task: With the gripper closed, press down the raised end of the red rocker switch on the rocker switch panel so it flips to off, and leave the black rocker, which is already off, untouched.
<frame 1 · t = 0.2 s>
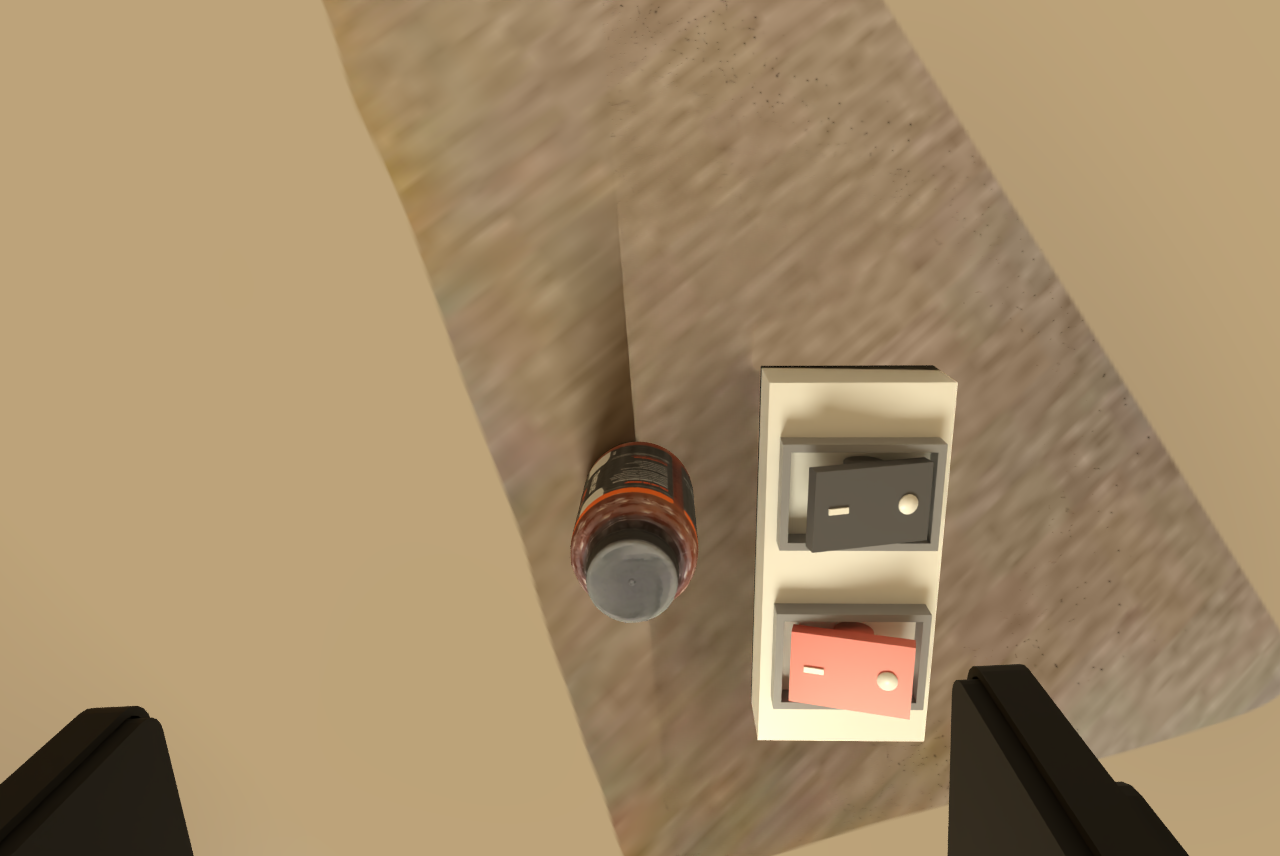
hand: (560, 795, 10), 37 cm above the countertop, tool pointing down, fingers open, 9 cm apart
supplement bottle: (638, 488, 48), on the countertop
black rocker: (863, 500, 42), point 5 cm above the countertop, hinge at -15.0°
red rocker: (851, 665, 44), point 5 cm above the countertop, hinge at 15.0°
rocker switch panel: (836, 541, 48), on the countertop
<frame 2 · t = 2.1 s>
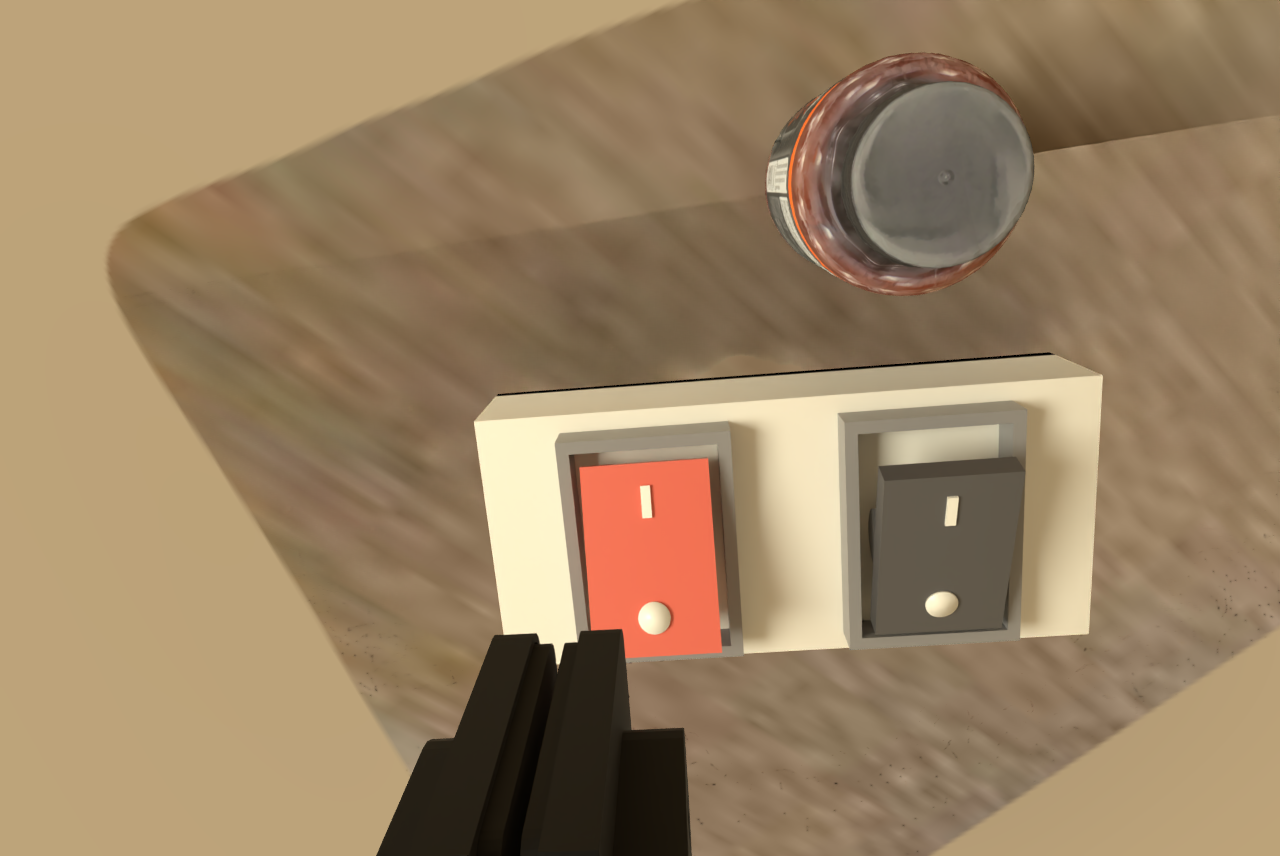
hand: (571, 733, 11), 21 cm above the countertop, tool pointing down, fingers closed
supplement bottle: (847, 181, 30), on the countertop
black rocker: (936, 538, 27), point 5 cm above the countertop, hinge at -15.0°
red rocker: (651, 554, 28), point 5 cm above the countertop, hinge at 15.0°
rocker switch panel: (774, 489, 33), on the countertop
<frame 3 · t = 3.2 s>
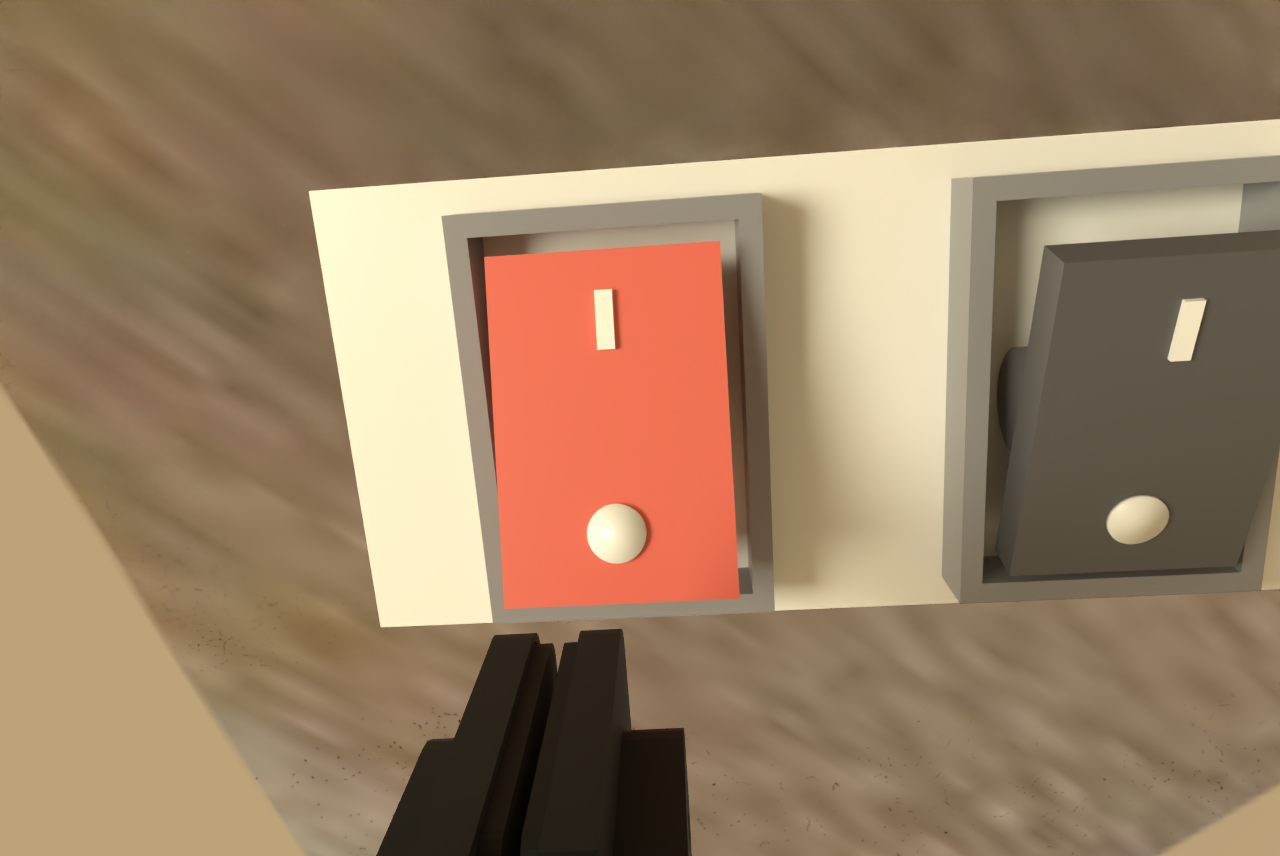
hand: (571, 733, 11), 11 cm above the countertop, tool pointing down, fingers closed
black rocker: (1130, 400, 15), point 5 cm above the countertop, hinge at -15.0°
red rocker: (616, 426, 16), point 5 cm above the countertop, hinge at 15.0°
rocker switch panel: (821, 356, 21), on the countertop
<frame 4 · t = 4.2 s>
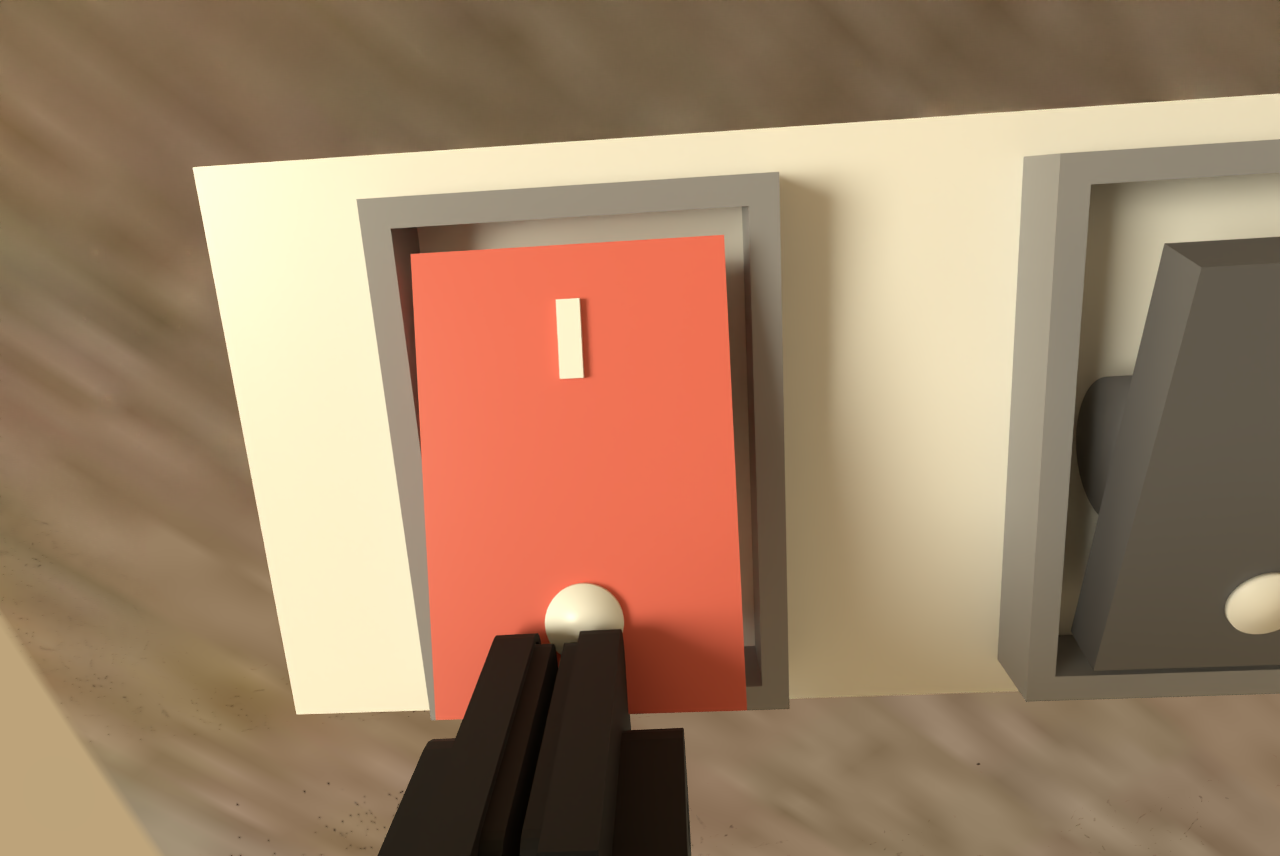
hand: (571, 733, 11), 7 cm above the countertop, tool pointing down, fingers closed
black rocker: (1258, 447, 12), point 5 cm above the countertop, hinge at -15.0°
red rocker: (586, 475, 12), point 5 cm above the countertop, hinge at 14.5°, touching gripper
rocker switch panel: (842, 377, 17), on the countertop
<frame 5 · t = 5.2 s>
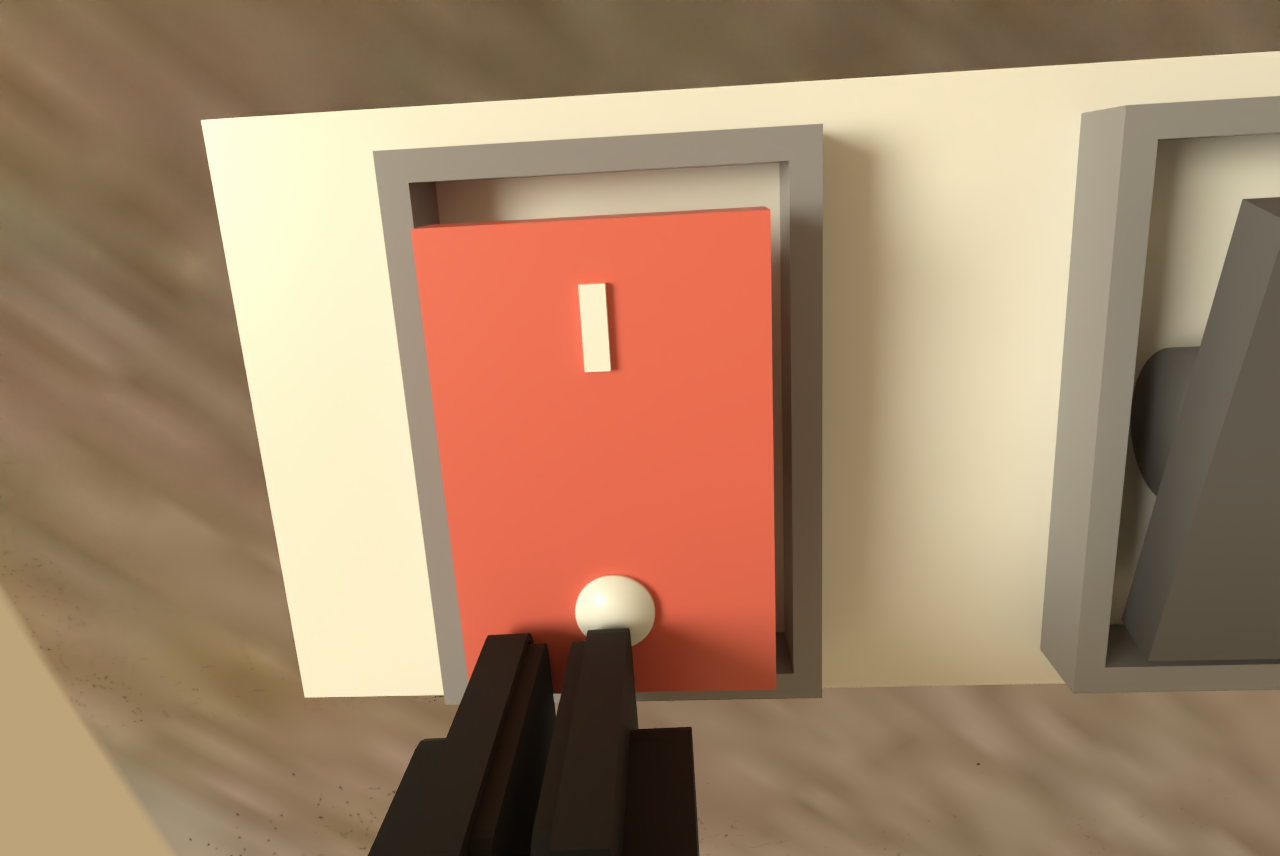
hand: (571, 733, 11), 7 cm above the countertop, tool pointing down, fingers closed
red rocker: (612, 449, 11), point 5 cm above the countertop, hinge at -1.0°, touching gripper
rocker switch panel: (875, 355, 16), on the countertop
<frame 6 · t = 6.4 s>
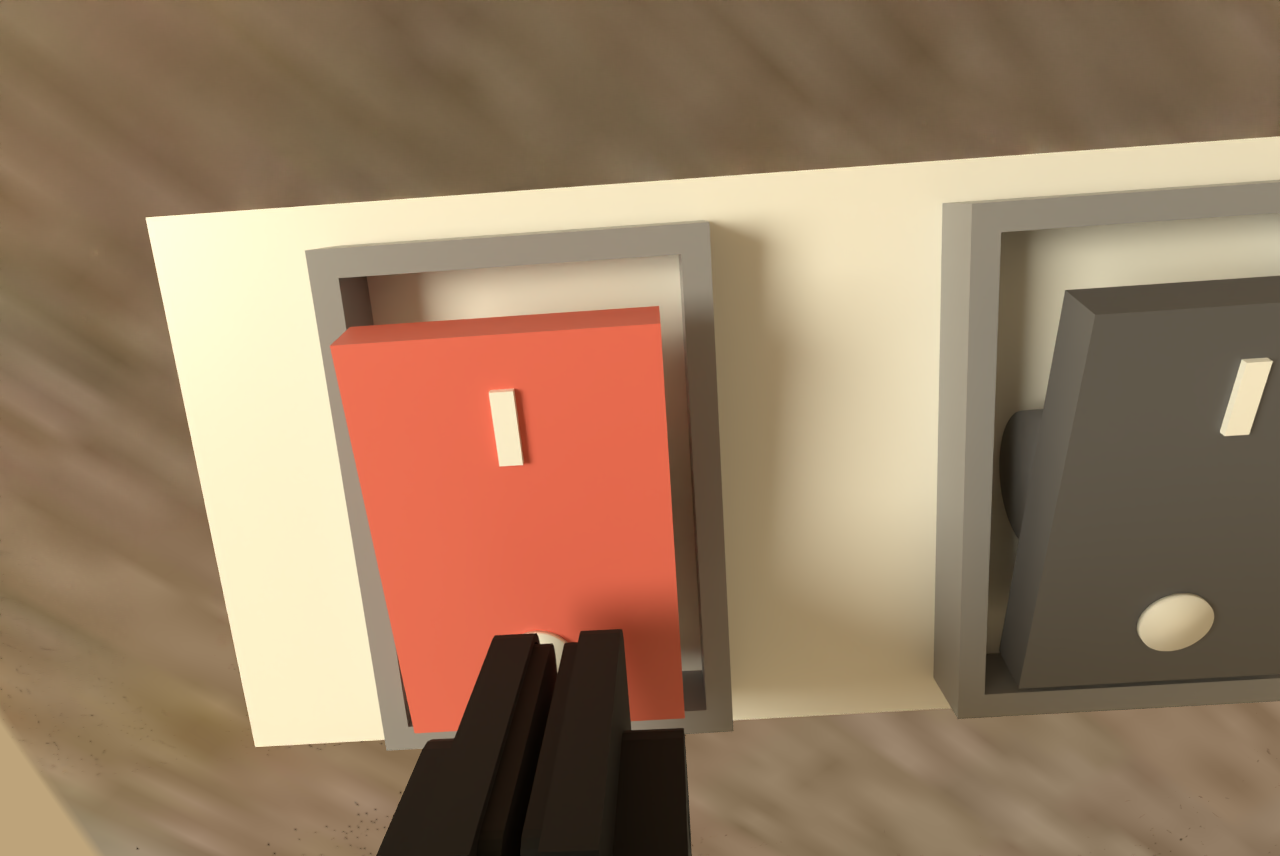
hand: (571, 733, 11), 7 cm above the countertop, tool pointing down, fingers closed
black rocker: (1164, 475, 12), point 5 cm above the countertop, hinge at -15.0°
red rocker: (532, 513, 13), point 5 cm above the countertop, hinge at -8.4°
rocker switch panel: (787, 406, 18), on the countertop
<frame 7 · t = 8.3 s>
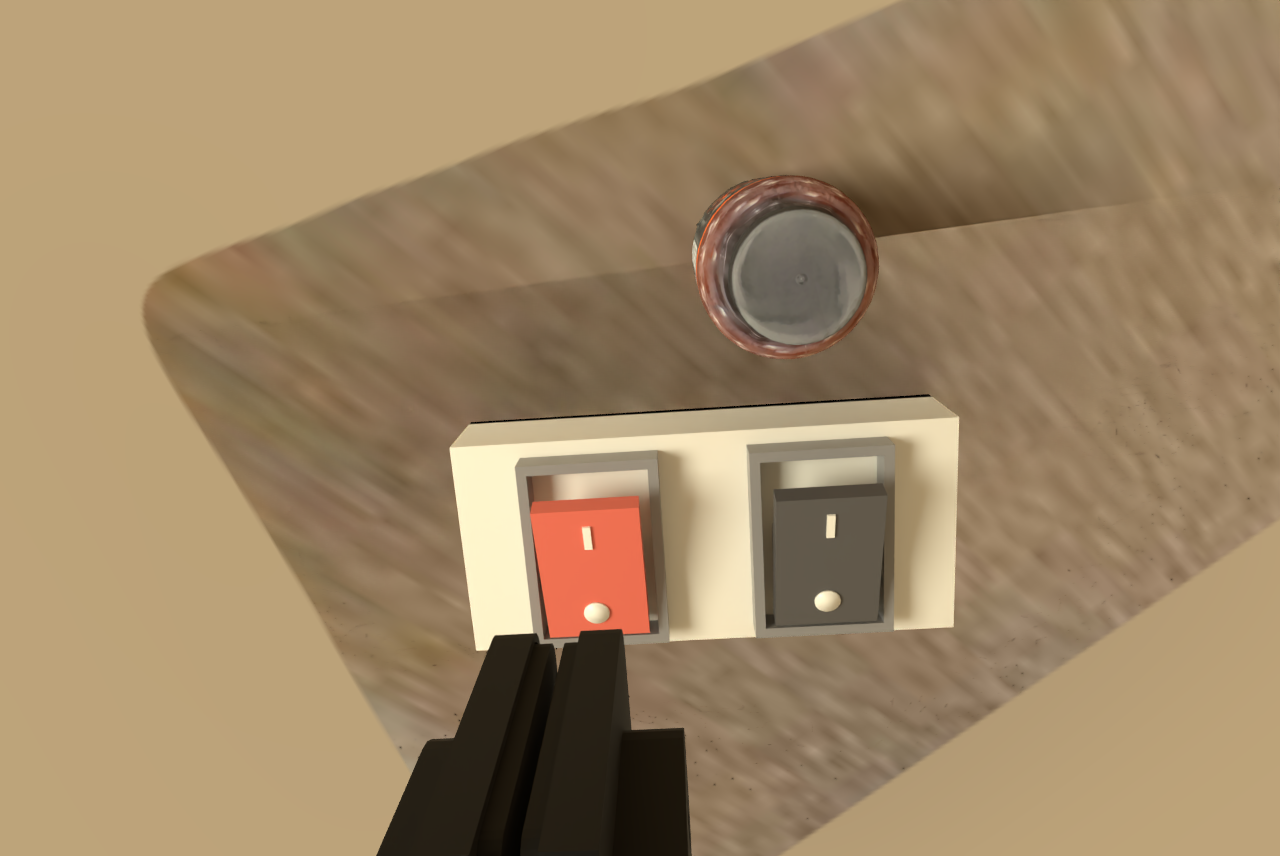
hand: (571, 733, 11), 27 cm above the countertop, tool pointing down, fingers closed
supplement bottle: (761, 252, 36), on the countertop
black rocker: (824, 547, 34), point 5 cm above the countertop, hinge at -15.0°
red rocker: (593, 559, 34), point 5 cm above the countertop, hinge at -13.7°
rocker switch panel: (702, 505, 39), on the countertop
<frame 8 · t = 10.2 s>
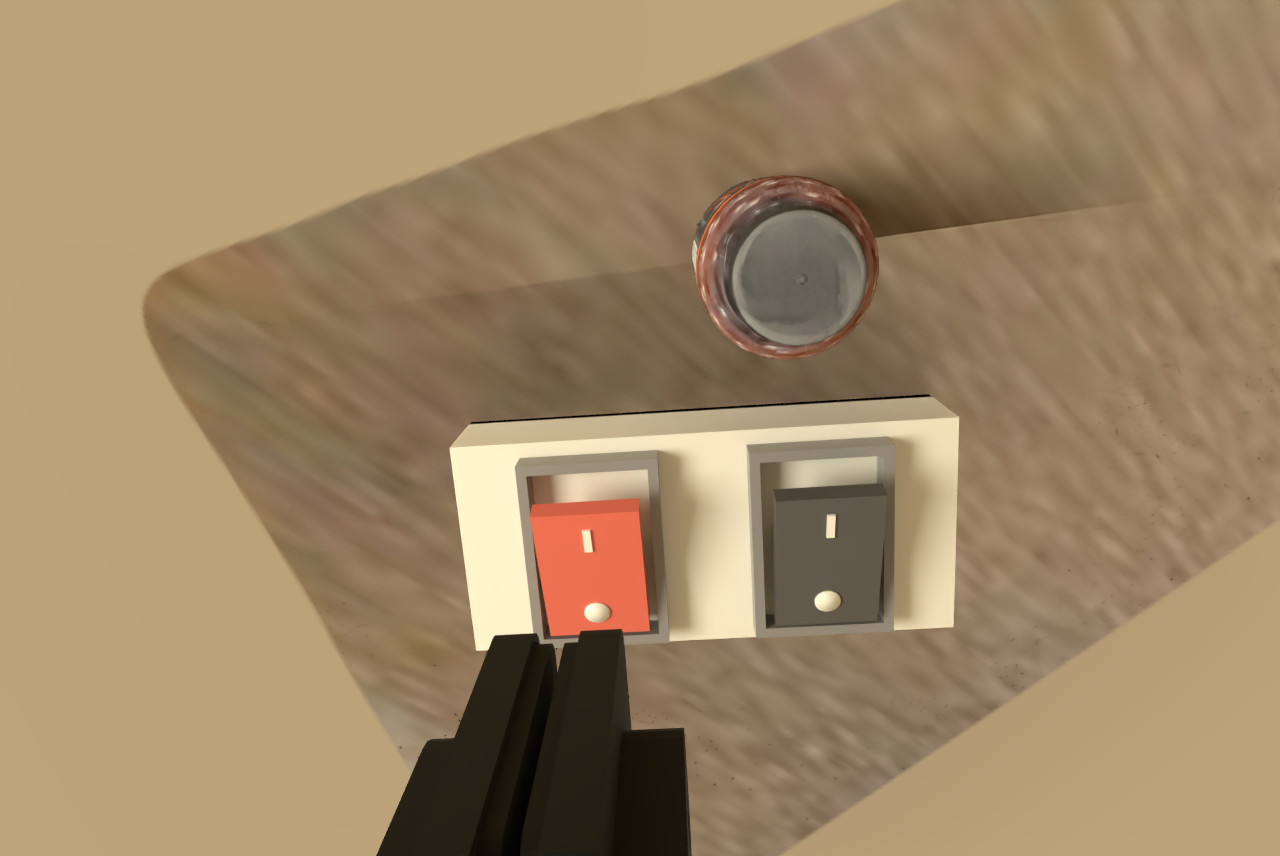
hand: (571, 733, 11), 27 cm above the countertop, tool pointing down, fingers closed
supplement bottle: (761, 252, 36), on the countertop
black rocker: (824, 547, 34), point 5 cm above the countertop, hinge at -15.0°
red rocker: (593, 559, 34), point 5 cm above the countertop, hinge at -16.6°
rocker switch panel: (702, 505, 39), on the countertop
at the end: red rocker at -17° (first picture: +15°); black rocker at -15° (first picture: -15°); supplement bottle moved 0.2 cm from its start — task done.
